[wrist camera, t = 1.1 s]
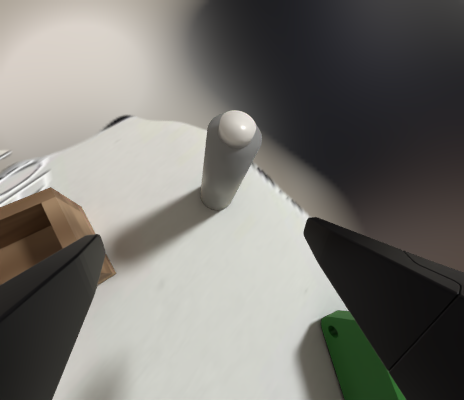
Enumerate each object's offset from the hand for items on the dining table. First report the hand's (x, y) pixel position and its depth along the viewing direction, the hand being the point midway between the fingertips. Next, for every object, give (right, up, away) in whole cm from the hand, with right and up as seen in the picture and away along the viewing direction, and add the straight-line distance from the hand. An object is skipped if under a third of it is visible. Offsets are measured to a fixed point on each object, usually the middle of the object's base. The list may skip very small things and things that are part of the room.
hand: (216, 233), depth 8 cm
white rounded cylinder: (-1, +2, +16) cm, 16 cm away
